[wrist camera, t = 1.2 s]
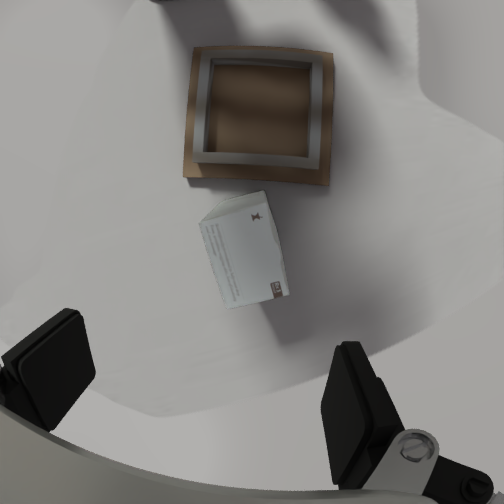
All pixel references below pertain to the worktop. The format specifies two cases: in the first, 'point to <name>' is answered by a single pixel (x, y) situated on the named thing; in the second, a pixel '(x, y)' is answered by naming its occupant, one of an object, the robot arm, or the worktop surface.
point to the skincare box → (245, 250)
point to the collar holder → (259, 114)
